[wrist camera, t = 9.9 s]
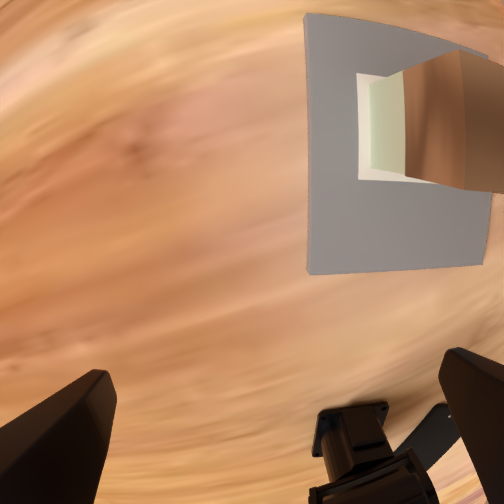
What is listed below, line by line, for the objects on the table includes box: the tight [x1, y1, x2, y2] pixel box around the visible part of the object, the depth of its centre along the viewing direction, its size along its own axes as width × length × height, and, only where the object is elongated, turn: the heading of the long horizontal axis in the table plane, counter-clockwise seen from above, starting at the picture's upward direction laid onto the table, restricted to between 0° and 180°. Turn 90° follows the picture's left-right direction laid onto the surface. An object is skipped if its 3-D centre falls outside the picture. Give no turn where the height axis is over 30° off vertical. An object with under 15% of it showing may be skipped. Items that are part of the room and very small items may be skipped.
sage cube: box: [369, 71, 405, 174], centre depth 15 cm, size 5×5×4 cm
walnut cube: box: [402, 49, 504, 194], centre depth 10 cm, size 5×5×4 cm
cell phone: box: [393, 403, 461, 471], centre depth 28 cm, size 9×18×1 cm, turn 158°
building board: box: [303, 13, 492, 275], centre depth 18 cm, size 16×14×1 cm
